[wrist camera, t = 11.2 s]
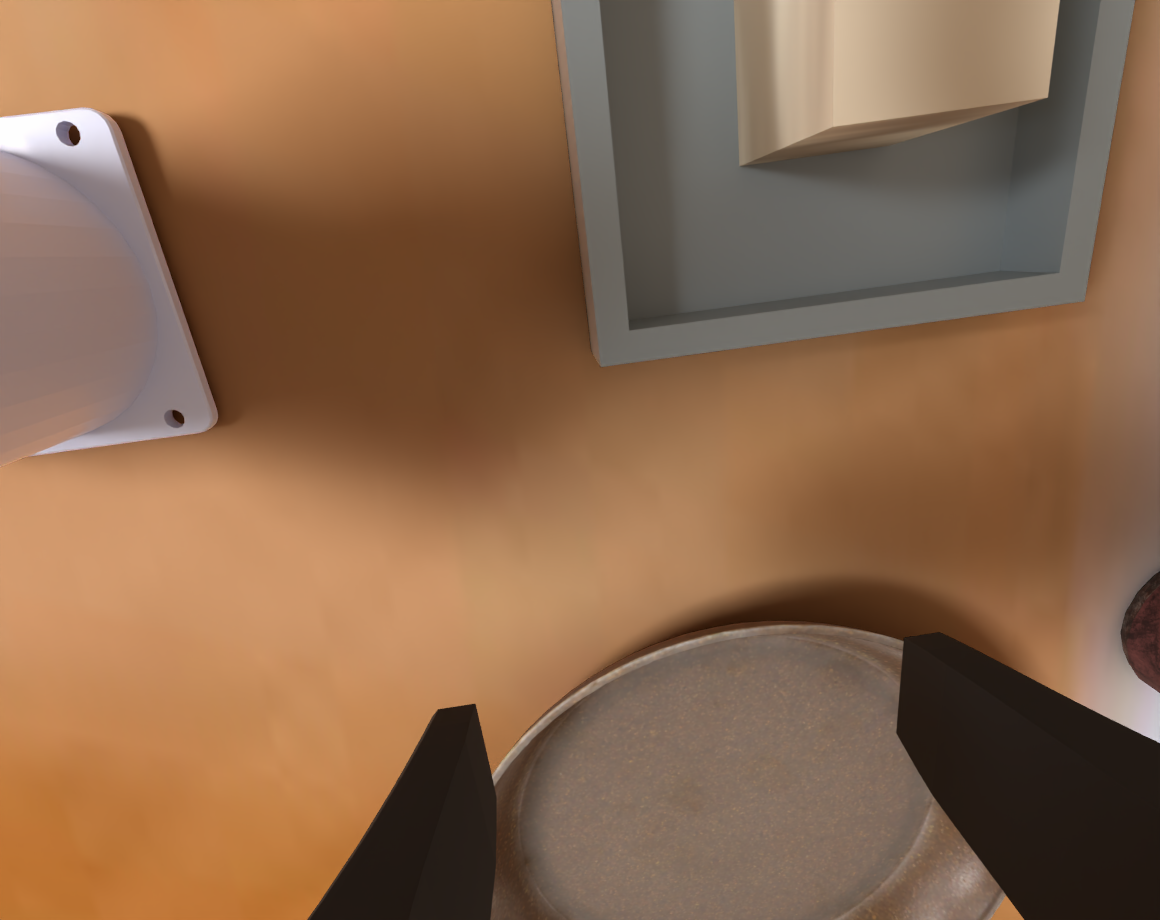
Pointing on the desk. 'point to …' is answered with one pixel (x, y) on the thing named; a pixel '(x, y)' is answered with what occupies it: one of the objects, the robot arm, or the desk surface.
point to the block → (881, 69)
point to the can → (1144, 633)
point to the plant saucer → (731, 790)
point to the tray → (815, 192)
